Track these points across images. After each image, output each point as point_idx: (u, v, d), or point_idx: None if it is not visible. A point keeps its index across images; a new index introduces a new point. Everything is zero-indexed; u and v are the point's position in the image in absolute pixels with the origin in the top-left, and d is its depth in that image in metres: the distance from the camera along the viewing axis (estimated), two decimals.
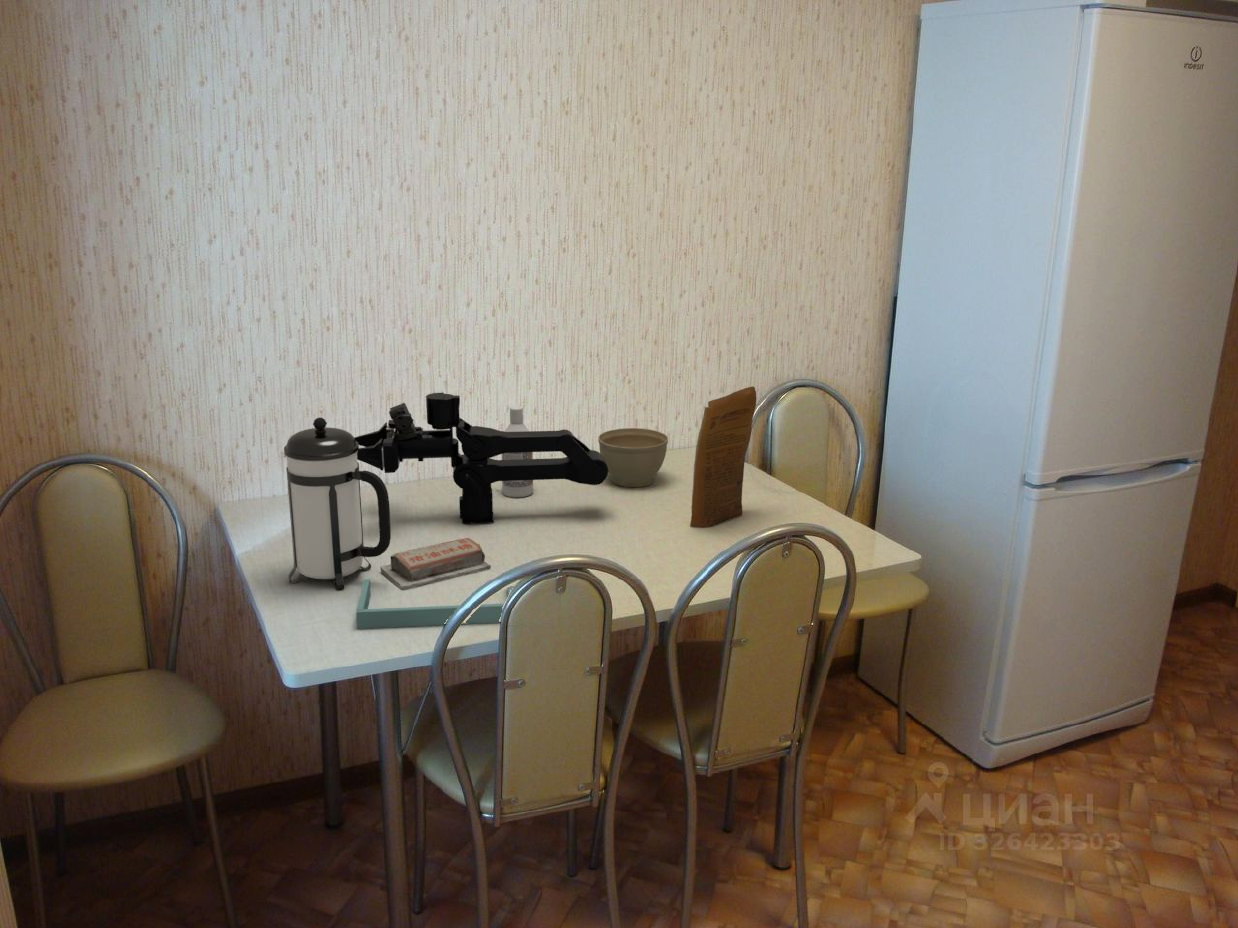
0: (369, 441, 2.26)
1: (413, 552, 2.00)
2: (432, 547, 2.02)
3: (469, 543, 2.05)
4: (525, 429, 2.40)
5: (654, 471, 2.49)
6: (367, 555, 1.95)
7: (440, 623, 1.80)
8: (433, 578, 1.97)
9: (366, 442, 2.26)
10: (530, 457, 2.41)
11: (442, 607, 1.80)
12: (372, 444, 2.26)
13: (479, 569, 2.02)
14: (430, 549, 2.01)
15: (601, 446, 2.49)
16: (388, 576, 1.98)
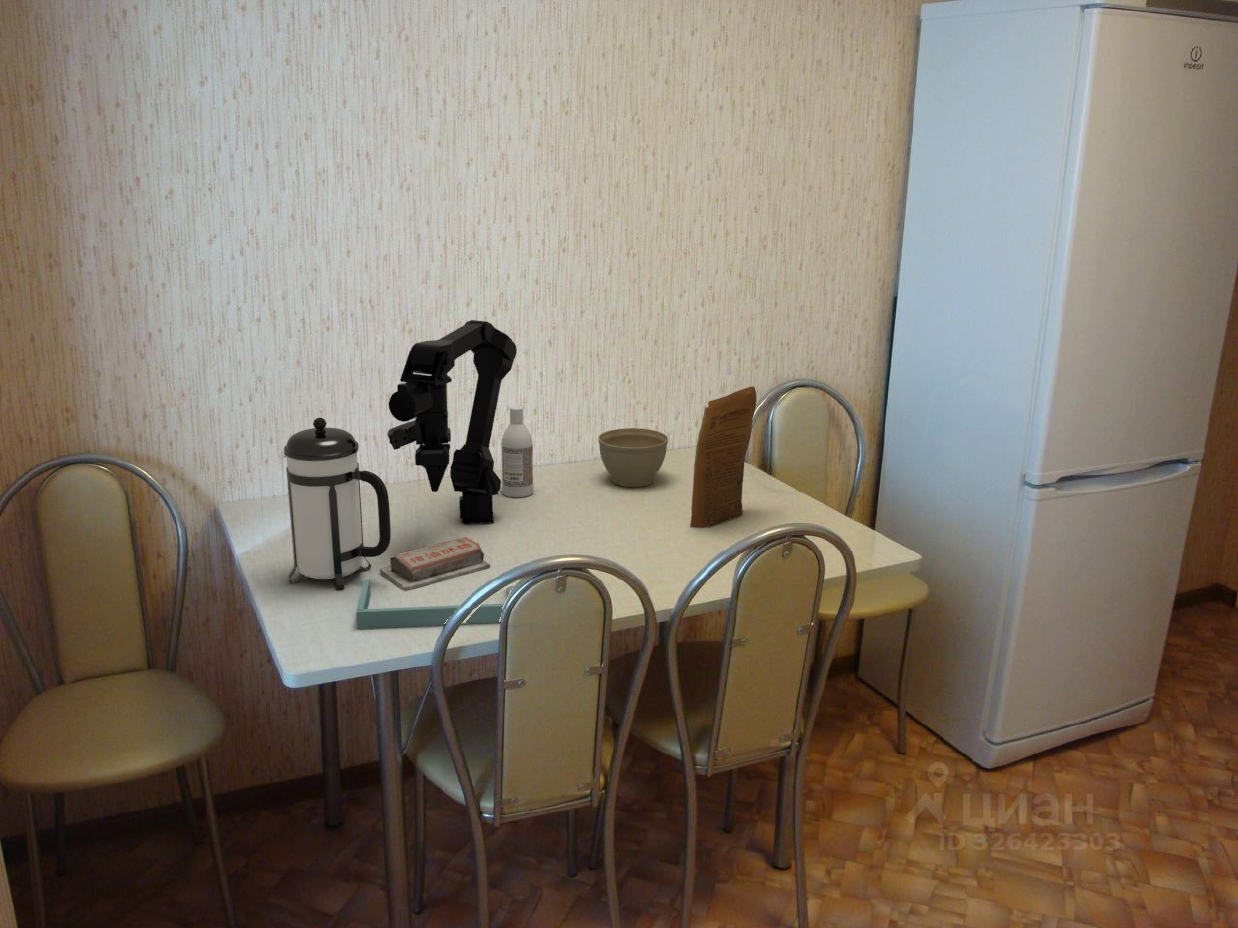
0: None
1: (413, 553, 2.00)
2: (431, 547, 2.02)
3: (467, 542, 2.05)
4: (525, 429, 2.40)
5: (654, 471, 2.49)
6: (367, 555, 1.95)
7: (440, 623, 1.80)
8: (434, 578, 1.97)
9: None
10: (530, 457, 2.41)
11: (442, 607, 1.80)
12: None
13: (479, 568, 2.03)
14: (430, 549, 2.01)
15: (601, 446, 2.49)
16: (389, 577, 1.98)
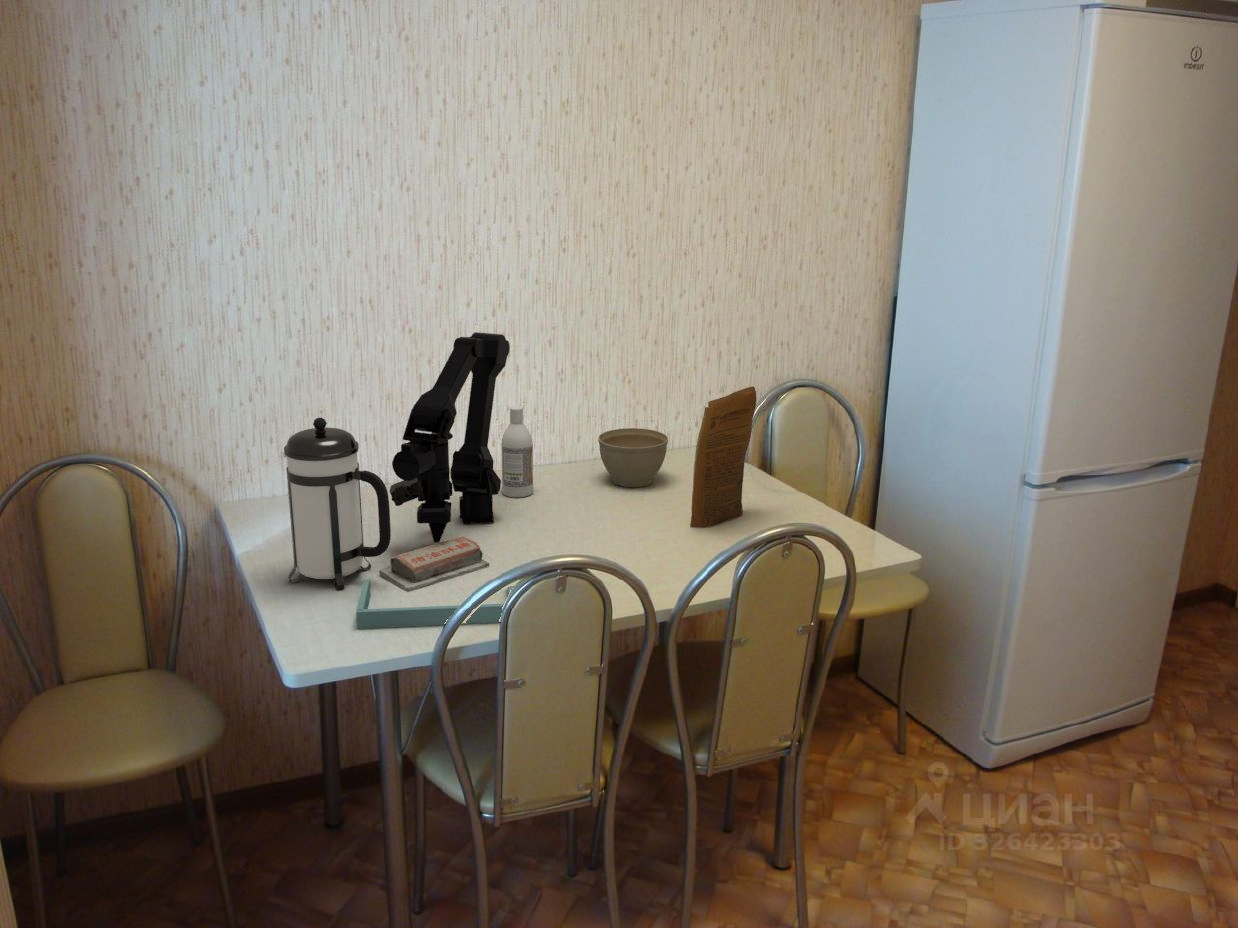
0: None
1: (413, 553, 1.99)
2: (430, 547, 2.02)
3: (466, 542, 2.05)
4: (525, 429, 2.40)
5: (654, 471, 2.49)
6: (367, 555, 1.95)
7: (440, 623, 1.80)
8: (436, 578, 1.97)
9: None
10: (530, 457, 2.41)
11: (442, 607, 1.80)
12: None
13: (479, 567, 2.03)
14: (429, 549, 2.01)
15: (601, 446, 2.49)
16: (389, 578, 1.97)
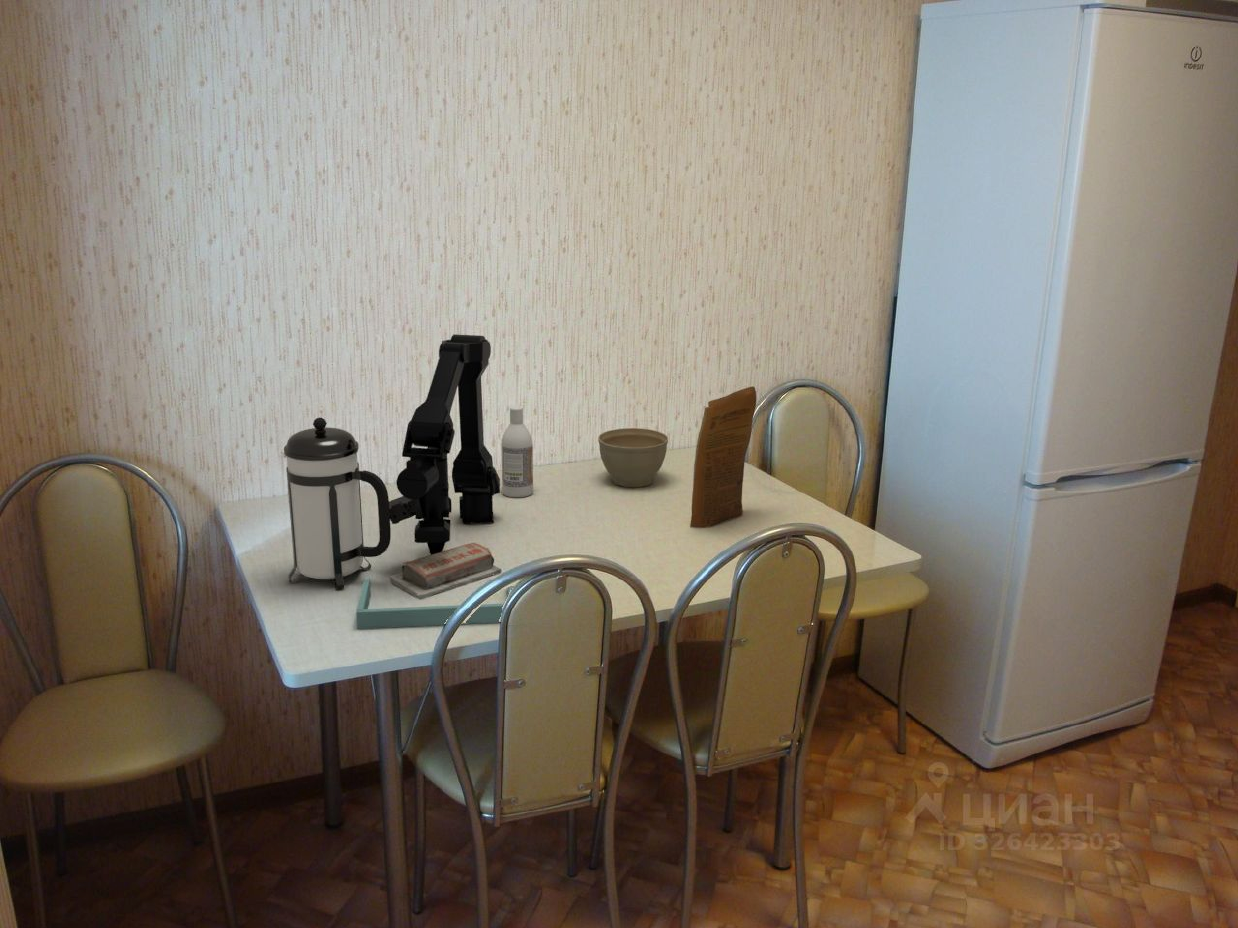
0: None
1: (424, 560, 1.96)
2: (442, 554, 1.99)
3: (477, 547, 2.02)
4: (525, 429, 2.40)
5: (654, 471, 2.49)
6: (367, 555, 1.95)
7: (440, 623, 1.80)
8: (448, 585, 1.94)
9: None
10: (530, 457, 2.41)
11: (442, 607, 1.80)
12: None
13: (491, 573, 2.00)
14: (441, 556, 1.98)
15: (601, 446, 2.49)
16: (401, 586, 1.94)
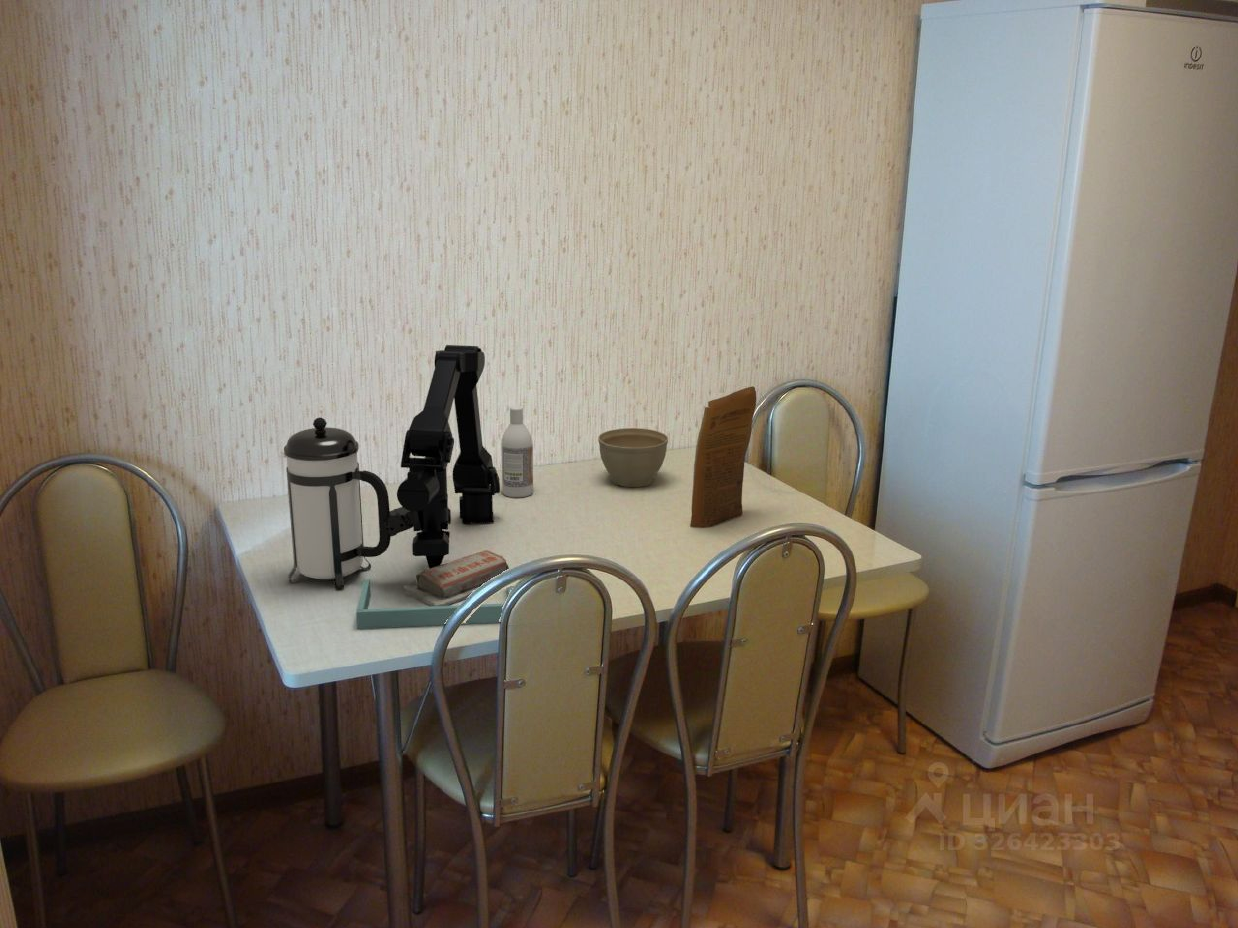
0: None
1: (439, 569, 1.92)
2: (456, 562, 1.95)
3: (491, 555, 1.99)
4: (525, 429, 2.40)
5: (654, 471, 2.49)
6: (367, 555, 1.95)
7: (440, 623, 1.80)
8: (465, 594, 1.91)
9: None
10: (530, 457, 2.41)
11: (442, 607, 1.80)
12: None
13: None
14: (455, 564, 1.94)
15: (601, 446, 2.49)
16: (416, 596, 1.90)
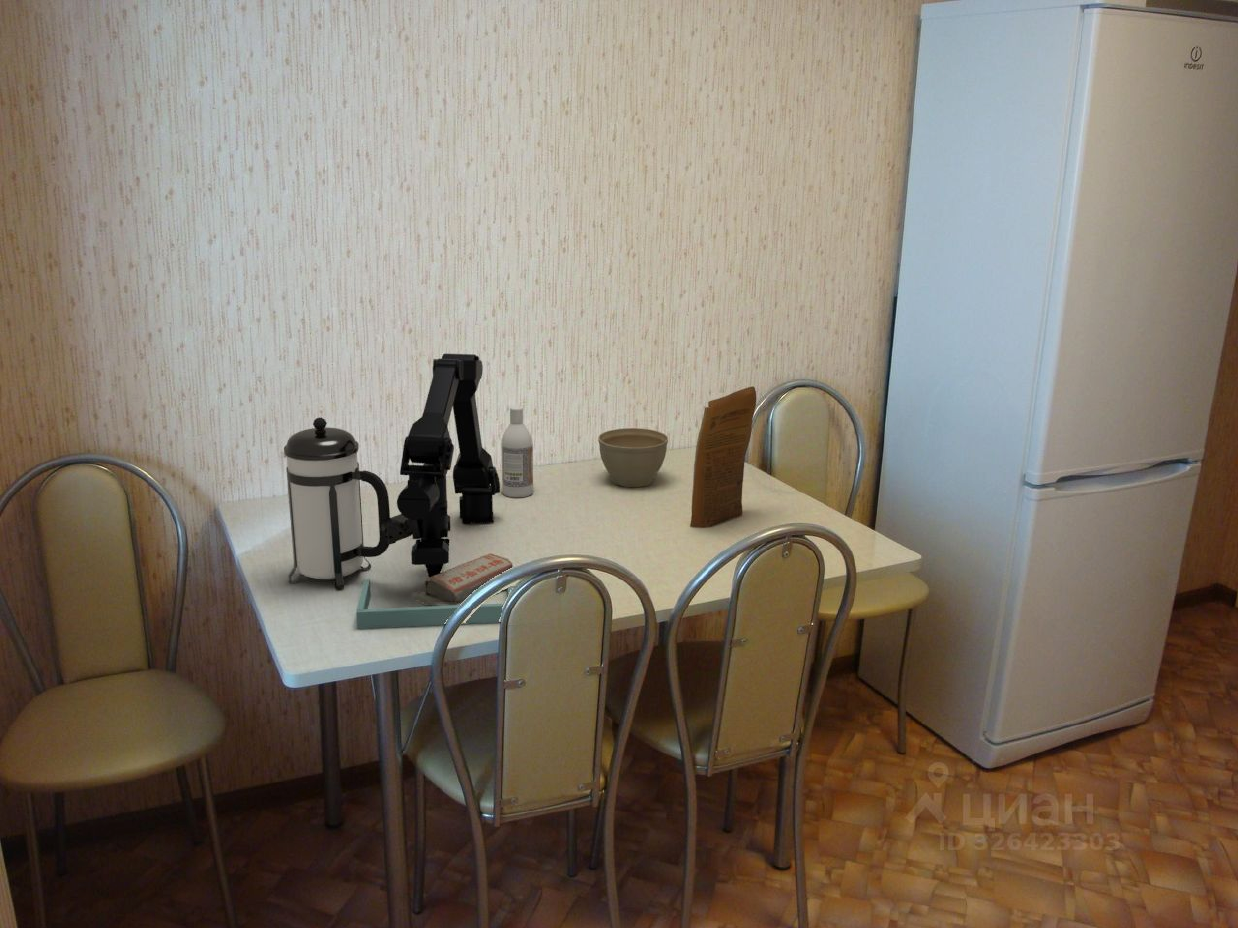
0: None
1: (448, 574, 1.90)
2: (463, 567, 1.94)
3: (497, 558, 1.98)
4: (525, 429, 2.40)
5: (654, 471, 2.49)
6: (367, 555, 1.95)
7: (440, 623, 1.80)
8: None
9: None
10: (530, 457, 2.41)
11: (442, 607, 1.80)
12: None
13: None
14: (463, 569, 1.93)
15: (601, 446, 2.49)
16: (426, 602, 1.88)
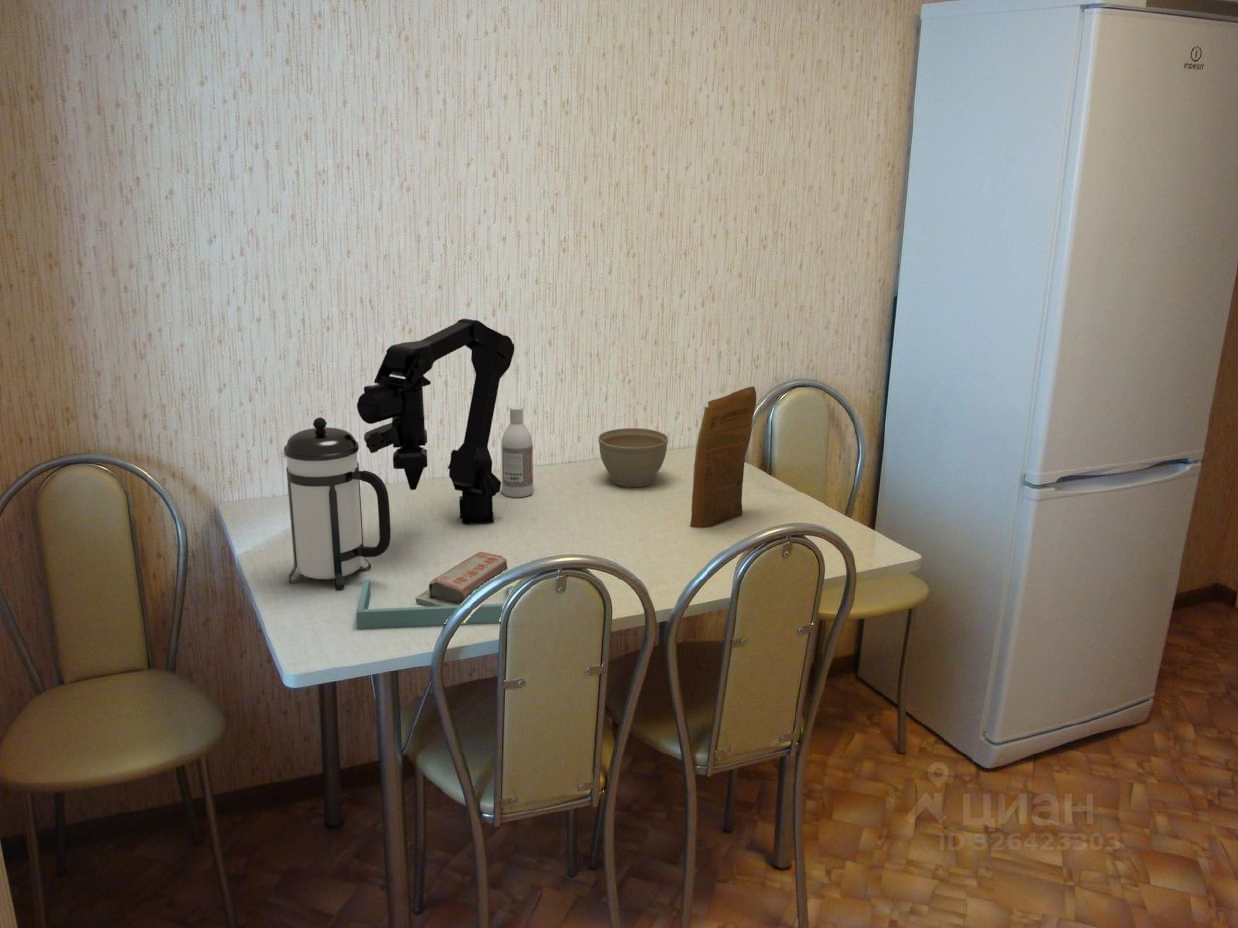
0: None
1: (450, 575, 1.90)
2: (461, 567, 1.94)
3: (490, 556, 1.99)
4: (525, 429, 2.40)
5: (654, 471, 2.49)
6: (367, 555, 1.95)
7: (440, 623, 1.80)
8: None
9: None
10: (530, 457, 2.41)
11: (442, 607, 1.80)
12: None
13: None
14: (462, 569, 1.93)
15: (601, 446, 2.49)
16: (432, 605, 1.87)
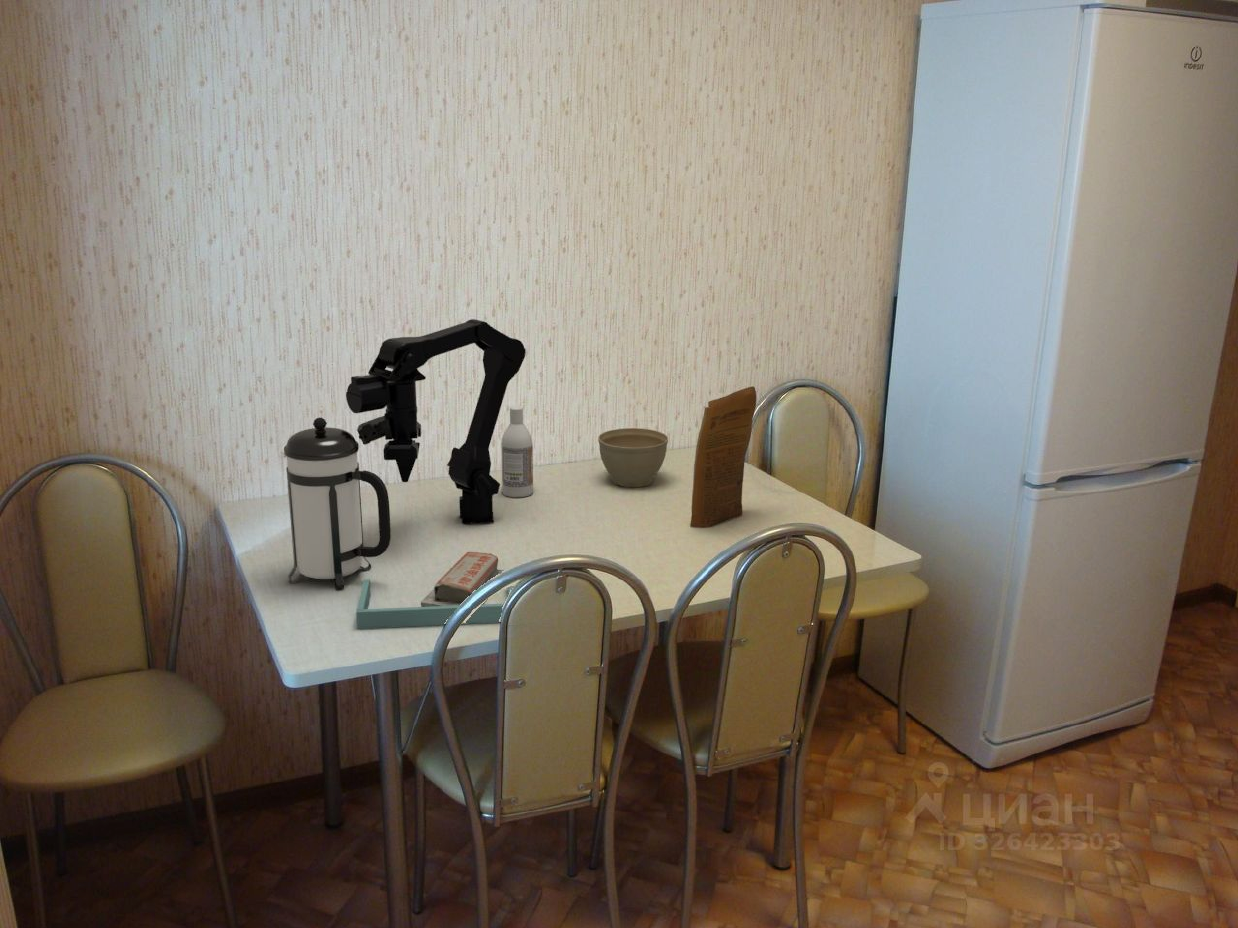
0: None
1: (452, 576, 1.89)
2: (458, 567, 1.93)
3: (481, 555, 1.99)
4: (525, 429, 2.40)
5: (654, 471, 2.49)
6: (367, 555, 1.95)
7: (440, 623, 1.80)
8: None
9: None
10: (530, 457, 2.41)
11: (442, 607, 1.80)
12: None
13: None
14: (461, 569, 1.92)
15: (601, 446, 2.49)
16: None
